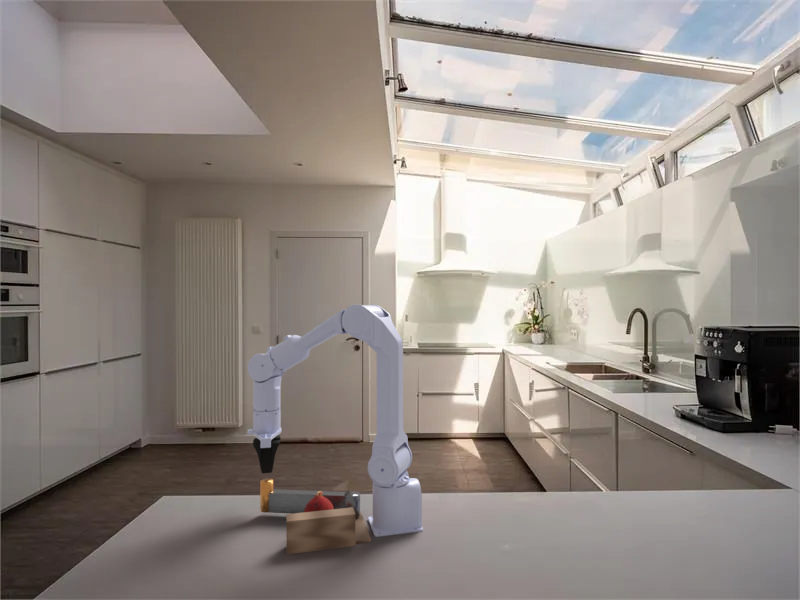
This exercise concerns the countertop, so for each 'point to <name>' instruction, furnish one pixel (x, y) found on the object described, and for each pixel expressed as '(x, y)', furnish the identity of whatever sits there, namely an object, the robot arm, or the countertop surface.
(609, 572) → the countertop surface
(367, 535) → the bench
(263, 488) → the lever
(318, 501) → the onion
